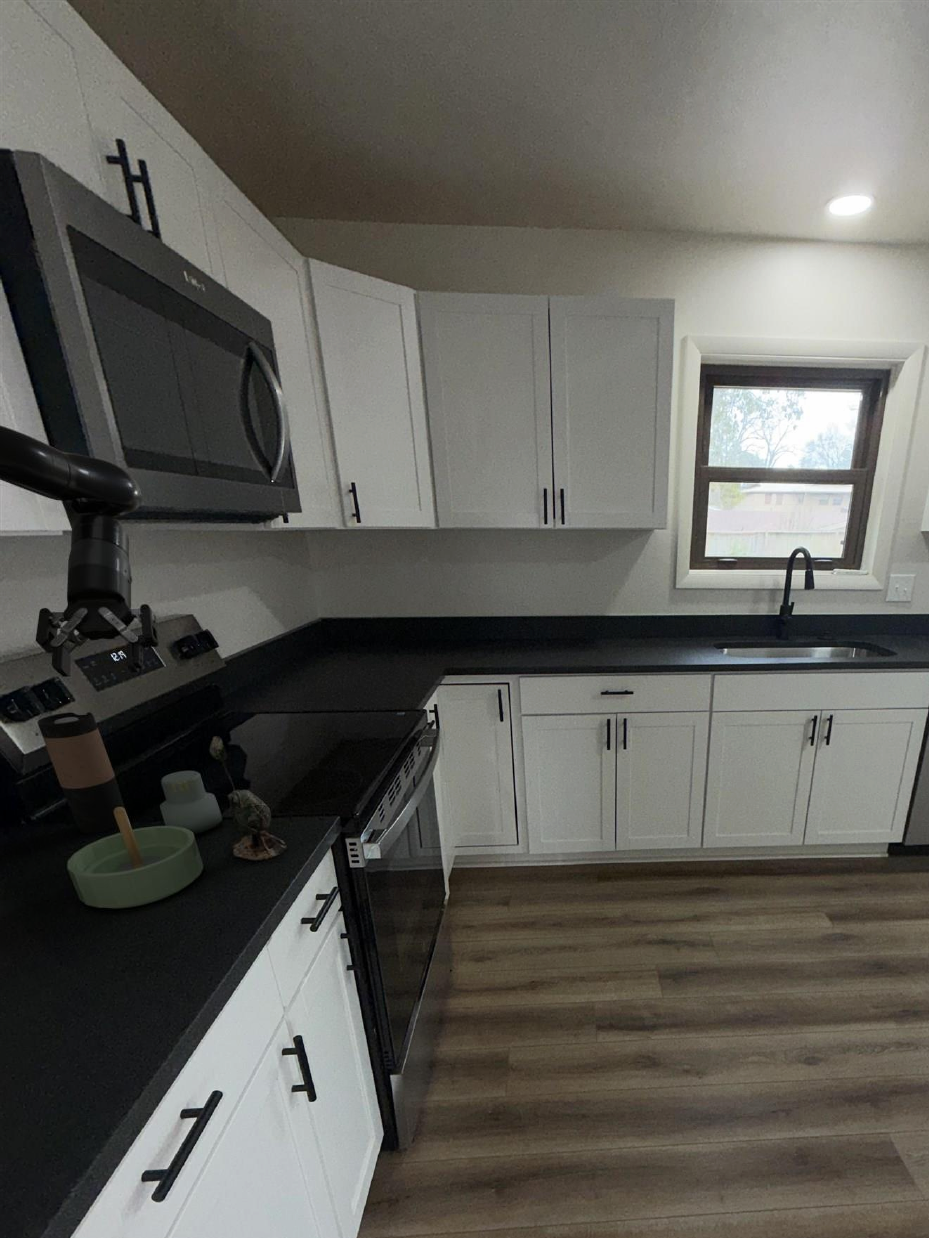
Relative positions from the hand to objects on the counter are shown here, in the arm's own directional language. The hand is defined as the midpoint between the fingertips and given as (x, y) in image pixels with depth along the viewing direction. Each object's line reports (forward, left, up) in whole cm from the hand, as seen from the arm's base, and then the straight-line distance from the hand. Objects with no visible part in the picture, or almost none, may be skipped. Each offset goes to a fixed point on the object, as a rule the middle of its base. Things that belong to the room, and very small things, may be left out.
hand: (98, 671), depth 92 cm
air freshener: (+3, +11, -31) cm, 33 cm away
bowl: (0, -8, -31) cm, 32 cm away
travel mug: (-13, +18, -31) cm, 38 cm away
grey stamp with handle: (0, -8, -30) cm, 31 cm away
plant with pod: (+15, -3, -31) cm, 34 cm away
